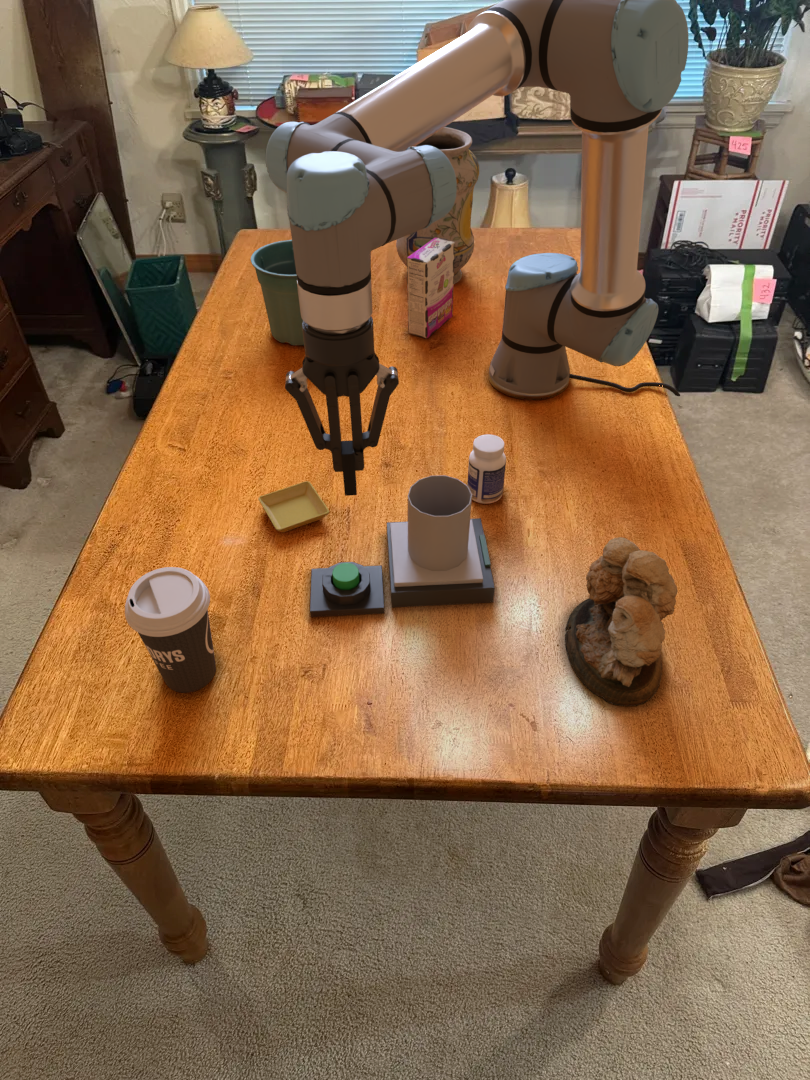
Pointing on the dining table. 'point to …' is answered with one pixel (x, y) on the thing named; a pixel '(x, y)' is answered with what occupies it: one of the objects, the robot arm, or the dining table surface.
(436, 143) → the vase
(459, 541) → the cup
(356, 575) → the button
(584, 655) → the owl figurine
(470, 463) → the pill bottle
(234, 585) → the dining table surface
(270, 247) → the flower pot
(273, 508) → the olive yellow tray
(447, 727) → the dining table surface
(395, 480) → the dining table surface
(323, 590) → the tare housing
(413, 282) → the candy bar box
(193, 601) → the coffee cup
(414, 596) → the scale
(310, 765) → the dining table surface
